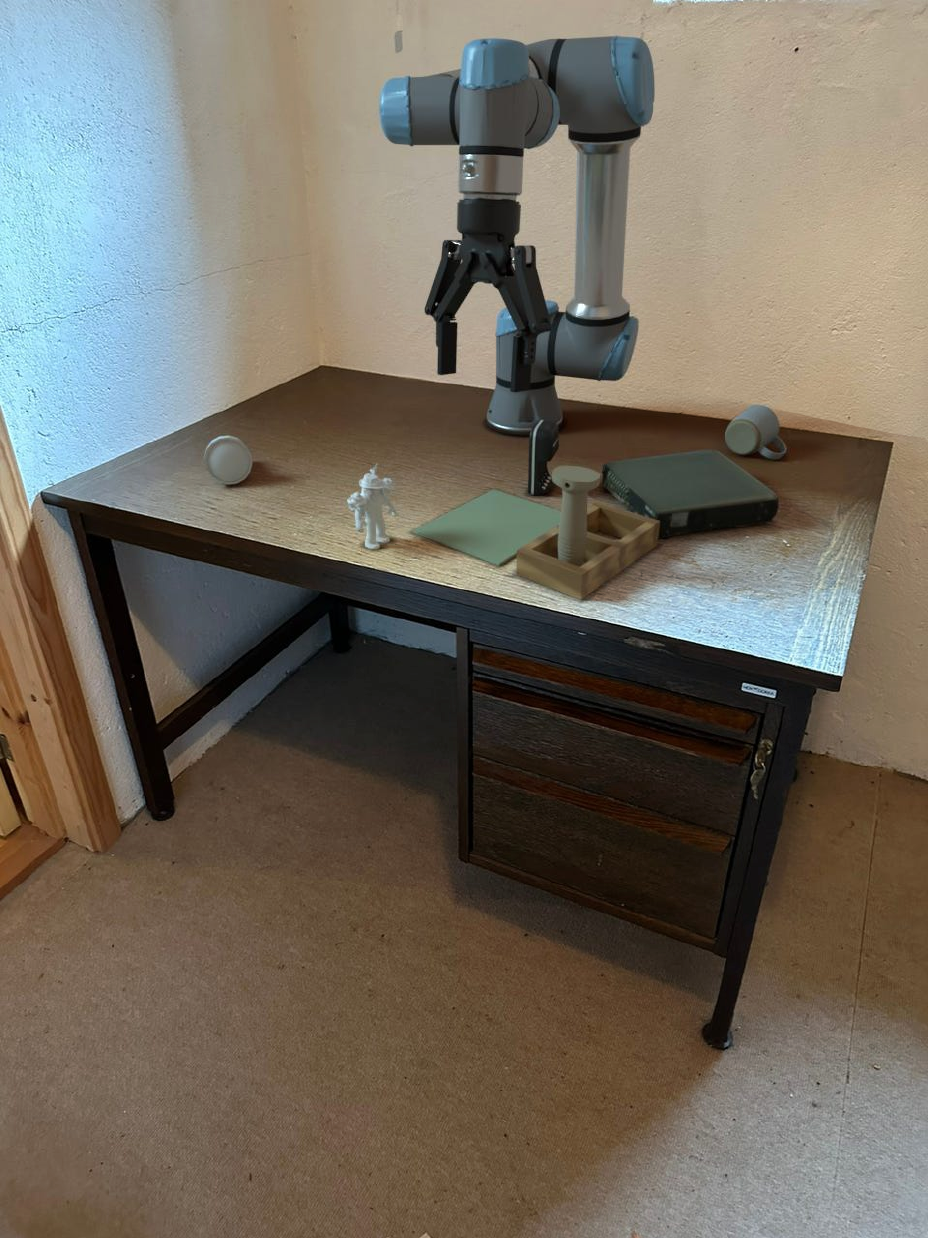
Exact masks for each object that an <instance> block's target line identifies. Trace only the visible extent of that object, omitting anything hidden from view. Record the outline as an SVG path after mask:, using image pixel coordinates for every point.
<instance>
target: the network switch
mask: <svg viewBox="0 0 928 1238" xmlns="http://www.w3.org/2000/svg"><path fill="white" fill-rule="evenodd" d="M601 474H602V477H601V486H602V487H603V488H604V489H605V490H607V491H608V492H610V493H611V495H612V496H613V497H614V498H615V499H617V501H618V502H619V503H620V504H621V505H622V506H624V508H626V509H627V511H629V512H633V513H636V514H639V515H642V516H645V517H649V518H652V519H655V520H658V521H660V527H659V535H658V539H659V538H661V539H663V538H668V537H672V536H677V535H681V534H682V535H683V534H687V533H695V532H701V531H702V532H703V531H708V530H713V529H721V528H727V527H735V528H740V527H746V526H753V525H760V524H761V525H762V524H767V525H769V524H773V519H774V518H775V517H776V515H777V514H778V510H779V503H780V501H779V497H778V496H777V493H776V492H774V491H773V490H772V489H771V488H769V487H768V486H767V485H765V484H764V483H763V482H762V481H760V480H758V478H756V477H754V476H753V475H752V474H751V473H750V472H748V471H746V470H745V469H744V468H742V466H740V465H738V464H737V463H735V462H734V461H733V460H732V459H730V458H729V457H727V456H726V455H725V454H723V453H722V452H720V451H718V450H714V449H710V448H707V449H699V450H691V451H686V452H677V453H668V454H662V455H653V456H644V457H638V458H629V459H623V460H622V459H621V460H614V461H608V462H605V463H604V464H603V466H602V472H601Z"/></svg>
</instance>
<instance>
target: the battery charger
mask: <svg viewBox="0 0 928 1238" xmlns="http://www.w3.org/2000/svg"><path fill="white" fill-rule="evenodd" d="M559 431H560V428H558V425H557V423H555V422H552V421H544V420H538V421H537V422H536V423H535V425H534V426H533V428H532V429H531V432H530V436H528V439H529V440H528V467H527V469H528V470H527V471H528V472H527V473H528V475H527V476H528V477H527V494H528V495H529V494H530V495H538V496H542V495H543V496H544V495H546V494H547V493H548V492H549V490H550V489H551V487H552V485H553V484H554V482H553V481H552V475H551V474H550V472H549V469H548V463H549V462H551V461H552V460H553V458H554V457H555V455H556V453H557V452H558V451H559V447H560V432H559Z"/></svg>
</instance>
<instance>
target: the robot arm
mask: <svg viewBox="0 0 928 1238" xmlns="http://www.w3.org/2000/svg"><path fill="white" fill-rule="evenodd" d="M655 85H656V84H655V69H654V63H653V57H652V54H651V50H650V48H649V46H648V44H647V42H646V41H644V39H642V38H641V37H633V36H622V35H621V36H620V35H611V36H593V37H592V36H591V37H573V38H548V39H544V40H539V41H535V42H531V43H528V44H525V43H524V42H521V41H519V40H515V39H509V38H493V37H491V38H477V39H472V40H470V41H469V42H467V43H466V44H465V45H464V47H463V49H462V55H461V64H460V68H458V69H453V70H448V71H445V72H439V73H436V74H430V75H425V76H410V75H406V76H404V77H403V76H402V77H393V78H390V79H388V80H386V82H385V83H384V84H383V86H382V88H381V91H380V96H379V100H378V101H379V102H378V112H379V113H378V114H379V121H380V122H379V123H380V126H381V129H382V133H383V134H384V136H385V138H386V139H387V140H388V141H389V142H390V143H391V144H393V145H403V146H409V147H414V146H459V148H458V177H457V179H458V181H457V192H458V193H459V194H461V195H462V199H459V200H458V202H456V203H457V205H456V207H457V209H456V213H457V214H456V229H457V232H458V233H460V234H461V239H444V240H443V241H442V244H441V245H442V246H441V256H440V260H439V264H438V266H437V271H436V273H435V276H434V279H433V281H432V285H431V287H430V291H429V294H428V297H427V300H426V302H425V306H424V314H425V315H426V316H430V317H432V318H433V321H434V322H435V345H436V348H437V370H436V371H437V372H436V374H437V375H438V376H447V375H455V374H457V355H458V324H459V323H458V322H457V318H456V314H457V313H458V311H459V310H460V308H461V306H462V305H463V304H464V302H465V300H466V299H467V297H468V295H469V294H470V292H471V290H472V289H473V287H474V286H475V284H477V283H483V284H488V285H492V286H493V287H494V288H495V289H496V290H497V291H498V293H499V294H500V296H501V299H502V301H503V303H504V305H505V307H504V308H502V309H501V310H500V311H499V312H498V314H497V316H496V329H495V331H496V332H495V333H494V335H495V387H494V390H493V394H492V396H491V400H490V403H489V407H488V408H487V413H486V424H487V427H489V428H490V429H491V430H493V431H495V432H498V433H501V434H505V435H511V436H520V437H523V436H524V437H525V436H526V437H527V436H528V437H530V432H531V429H532V428H533V426H534V425H535V423H536V422H537V421H538V420H544V421H552V422H555V423H557V425H558V428H559V429H560V428H561V427H562V425H563V411H562V408H561V404H560V400H559V397H558V393H557V389H556V376H557V377H567V378H573V379H583V380H591V381H592V380H593V381H597V382H601V381H604V382H605V381H606V382H617V381H619V380H621V379H622V378H624V377H625V375H626V373H627V371H628V370H629V367H630V365H631V361H632V358H633V355H634V352H635V348H636V344H637V339H638V335H639V326H640V325H639V318H637V317H635V316H634V315H631V316H630V314H631V313H630V312H631V304H630V302H628V300H626V298H624V296H623V284H624V267H625V266H624V265H625V251H626V232H627V217H628V216H627V214H628V196H629V181H630V179H629V178H630V161H631V148H632V147H633V146H634V145H635V143H636V142H638V140H639V139H640V138H641V136H642V135H641V133H642V127H645V126H647V125H649V123H650V122H651V121H652V118H653V113H654V103H655V95H656V94H655V92H656V91H655V90H656V89H655ZM558 126H567V128H568V129H567V130H568V131H567V140H568V141H569V143H570V144H571V145H572V146H573V147H574V148H575V150H576V189H575V190H576V191H575V193H576V195H575V196H576V197H575V240H574V241H575V244H574V289H573V290H574V291H573V297H572V299H571V300H569V301H568V302H567V304H566V305H565V311H560V306H559V303H558V302H557V301H554V300H553V301H552V300H546V299H545V295H544V290H543V287H542V284H541V280H540V276H539V272H538V269H537V248H536V246H534V245H531V244H530V245H526V244H525V245H524V244H523V245H522V244H521V245H516V243H515V240H516V239H515V238H516V236H517V235H518V234H519V233H520V231H521V211H522V204H520V201H517V197H519V196H521V195H522V194H523V178H524V177H523V175H524V171H523V170H524V157H525V156H524V155H525V149H526V150H531V149H536V148H539V147H542V146H544V145H545V144H547V143H548V142H549V141H550V139H552V138H553V136H554V134H555V132H556V130H557V129H558Z"/></svg>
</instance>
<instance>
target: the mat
mask: <svg viewBox="0 0 928 1238" xmlns="http://www.w3.org/2000/svg"><path fill="white" fill-rule="evenodd" d="M560 515H561V510H559V509H555V508H552V507H550V506H546V505H543V504H540V503H537V502H534V501H531V500H528V499H525V498H522V497H520V496H516V495H514V494H509V493H506V492H504V491H500V490H497V489H495V488H493V489H491V490H489V491H487V492H486V493H484V494H482V495H480V496H478V497H475V498H474V499H472V500H470V501H467V502H466V503H464V504H462V505H460V506H458V507H456V508H454V509H452V510H450V511H449V512H447V513H444V514H443V515H441V516H439V517H437V518H435V519H433V520H431V521H429V522H427V523H425V524H423V525H421V526H419V527H417V528H416V529H413V530H412V533H413V534H415V535H418V536H421V537H422V538H426V539H428V540H431V541H433V542H436V543H439V544H442V545H444V546H446V547H449V548H452V549H454V550H456V551H459V552H462V553H464V554H466V555H470V556H472V557H475V558H477V559H480V560H483V561H485V562H487V563H490V564H492V565H495V566H497V567H500V566H501V565H504V563H506V562H508V561H509V560H511V559H513V558H515V557H517V550H518V549H520V548H521V547H523V546H525V545H526V544H528V543H530V542H531V541H533V540H535V539H536V538H538V537H540V536H541V535H543V534H545V533H546V532H548V531H549V530H551V529H553V528H554V527H556V526H558V525H559V523H560Z"/></svg>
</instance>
